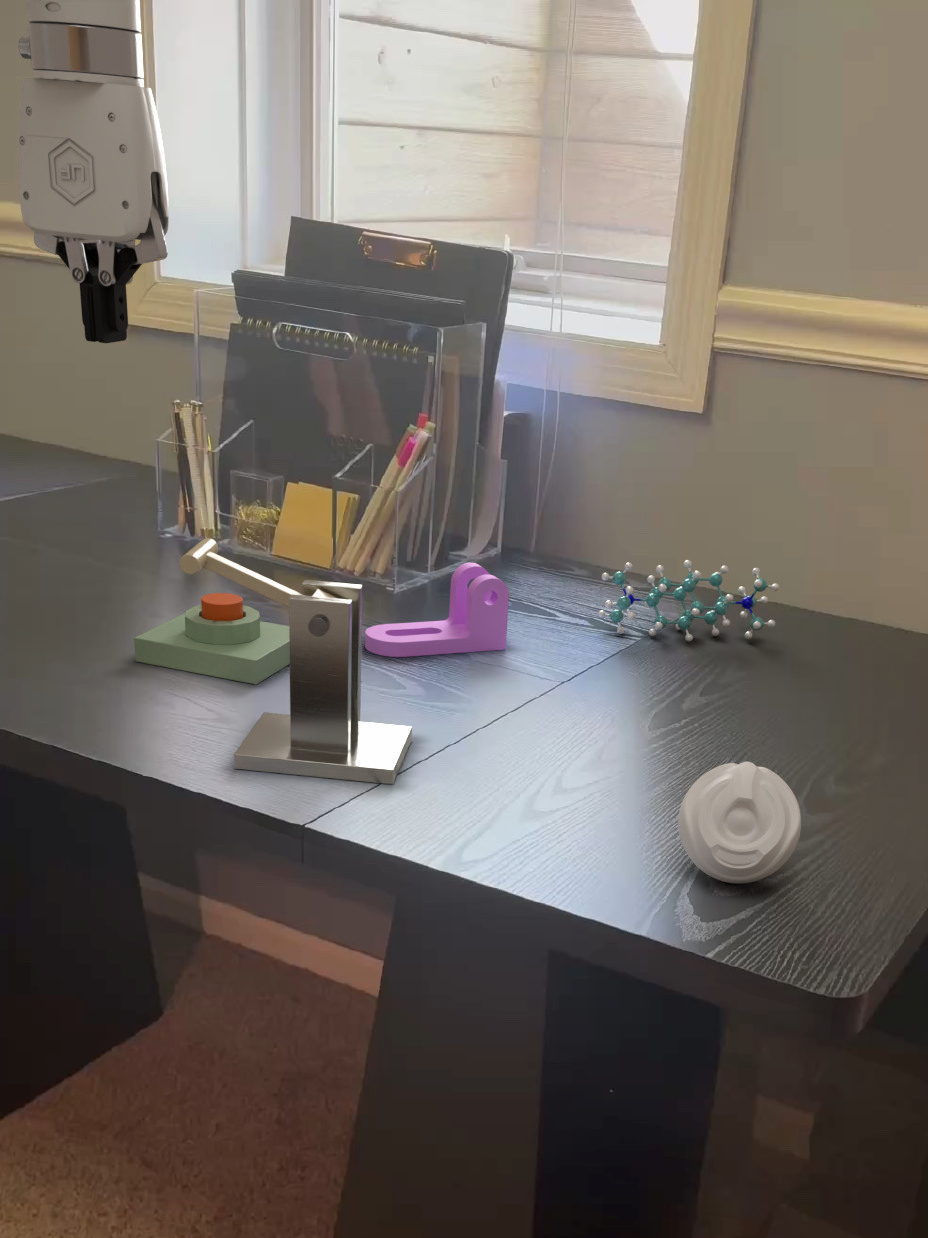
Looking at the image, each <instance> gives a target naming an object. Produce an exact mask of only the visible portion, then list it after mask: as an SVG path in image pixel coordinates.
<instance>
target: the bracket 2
mask: <svg viewBox="0 0 928 1238" xmlns="http://www.w3.org/2000/svg"><path fill="white" fill-rule="evenodd" d="M471 580H472V581H471ZM470 581H471V583H470V584H469V582H470ZM468 585H469V586H468ZM449 590H450V592H449V612H448V617H447V618H446V619H444V620H433V621H432V620H429V621H415V622H414V621H412V622H398V623H382V624H376V625H372V626H369V627H368V628H366V629H365V632H364V633H365V636H364V637H365V639H364V641H365V642H364V647H365V649H366V651H368V652H370V653H372V654H375V655H379V656H384V657H392V658H406V657H407V658H408V657H421V656H422V657H423V656H434V655H436V656H437V655H447V654H461V653H462V654H463V653H475V652H490V651H502V650H504V651H505V650H507V649H506V648H507V633H508V619H509V605H510V590H509V588H508V586H507V584H506V583H505V582H503V581H502V580H501V579H500V578H498V577H497V576H495V575H494V574H490V572H489V571H488V570H487V569H486V568H485V567H483V566H481V565H480V564H478V563H476V562H464V563H462V564H461V565H459V566H458V567H456V569H455V570H454V571H453V573H452V575H451V579H450V589H449Z"/></svg>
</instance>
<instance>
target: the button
mask: <svg viewBox="0 0 928 1238" xmlns="http://www.w3.org/2000/svg"><path fill="white" fill-rule="evenodd" d="M243 602H244V600H243V598H242V596H240V595H237V594H234V593H227V592H215V593H208V594H205V595H202V596H201V598H200V605H201V609H202V618H204V619H207V620H213V621H233V620H239V619H242V618H243V606H244V603H243Z"/></svg>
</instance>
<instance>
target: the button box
mask: <svg viewBox="0 0 928 1238" xmlns="http://www.w3.org/2000/svg"><path fill="white" fill-rule="evenodd" d="M260 615H261V614H260V611H259V610H257V609H255V608H253V607H250V606H248V605H243V618H242V619H239V620H233V621H213V620H207V619H204V618H202V609H201V604H199V605H195V606H192V607H190V608H189V609H186V610H185V611H184V613H182V614H179V615H178V616H176V617H174V618H172V619H170V620H167V621H166V622H164V623H162V624H159V625H157V626H155V627H153V628H151V629H149V630H147V631H145V632H143V633H141V634H139V635H136V636H135V637H134V638H133V642H134V644H133V645H134V656H135V659H134V660H135V662H138V663H143V664H148V665H153V666H157V667H158V666H159V667H163V668H167V669H168V668H169V669H173V670H178V671H184V672H190V673H195V674H200V675H205V676H210V677H215V678H220V679H225V680H230V681H236V682H241V683H247V684H251V685H258V684H259V683H261V682H263V681H264V680H266V679H268V678H269V677H271V676H272V675H274V674H276V673H277V672H280V671H281V670H283V669H284V668H286V667H287V666H288V665H289V666H290V647H289V625H285V624H279V623H273V622H269V621H268V622H267V621H262V620H261V617H260Z"/></svg>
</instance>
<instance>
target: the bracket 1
mask: <svg viewBox="0 0 928 1238" xmlns="http://www.w3.org/2000/svg"><path fill="white" fill-rule="evenodd" d="M317 589H319V590H321V591H323V592H326V593H328V594H330V595H332V596H334V597H336V598H338V599H336V598H326V597H315V596H313V594H314V593H315V592H316V591H317ZM301 594H302V595H291V597H290V598H289V607H288V616H289V617H288V626H289V647H290V664H289V714H286V713H276V712H268V711H267V712H265V711H264V712H263V713H262V714H261V716H260V717H259V719H258V720H257V722H256V723H255V724H254V726H253V727H252V728H251V730H250V731H249V733H248V734H247V735H246V737H245V738H244V740H243V741H242V742H241V744H240V745H239V746H238V747H237V749H236V750H235V752H234V753H233V767H234V769H235V770H245V771H254V772H264V773H276V774H284V775H295V776H296V775H297V776H303V777H304V776H305V777H316V778H325V779H335V780H345V781H353V782H354V781H356V782H363V783H365V782H367V783H375V784H383V785H393V784H394V782H395V780H396V778H397V775H398V773H399V772H400V768H401V766H402V764H403V761H404V760H405V757H406V754H407V752H408V750H409V747H410V744H411V743H412V740H413V727H412V726H411V725H410V726H408V725H398V724H390V723H389V724H388V723H378V722H370V721H369V722H368V721H361V708H362V707H361V706H362V705H361V702H362V699H361V698H362V646H363V645H362V641H363V637H362V635H363V584H355V583H345V582H335V581H321V580H312V579H304V580H303V581H302V582H301Z"/></svg>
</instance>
